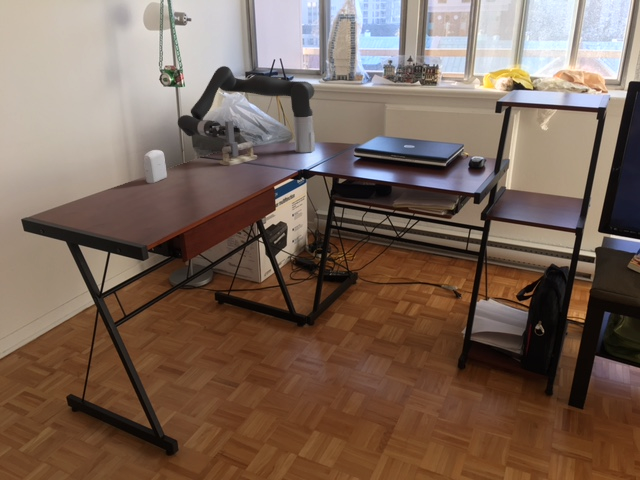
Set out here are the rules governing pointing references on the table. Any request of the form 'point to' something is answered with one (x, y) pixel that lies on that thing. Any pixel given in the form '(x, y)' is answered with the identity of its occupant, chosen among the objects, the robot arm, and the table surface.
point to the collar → (231, 139)
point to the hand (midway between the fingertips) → (232, 131)
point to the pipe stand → (238, 159)
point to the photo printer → (154, 166)
